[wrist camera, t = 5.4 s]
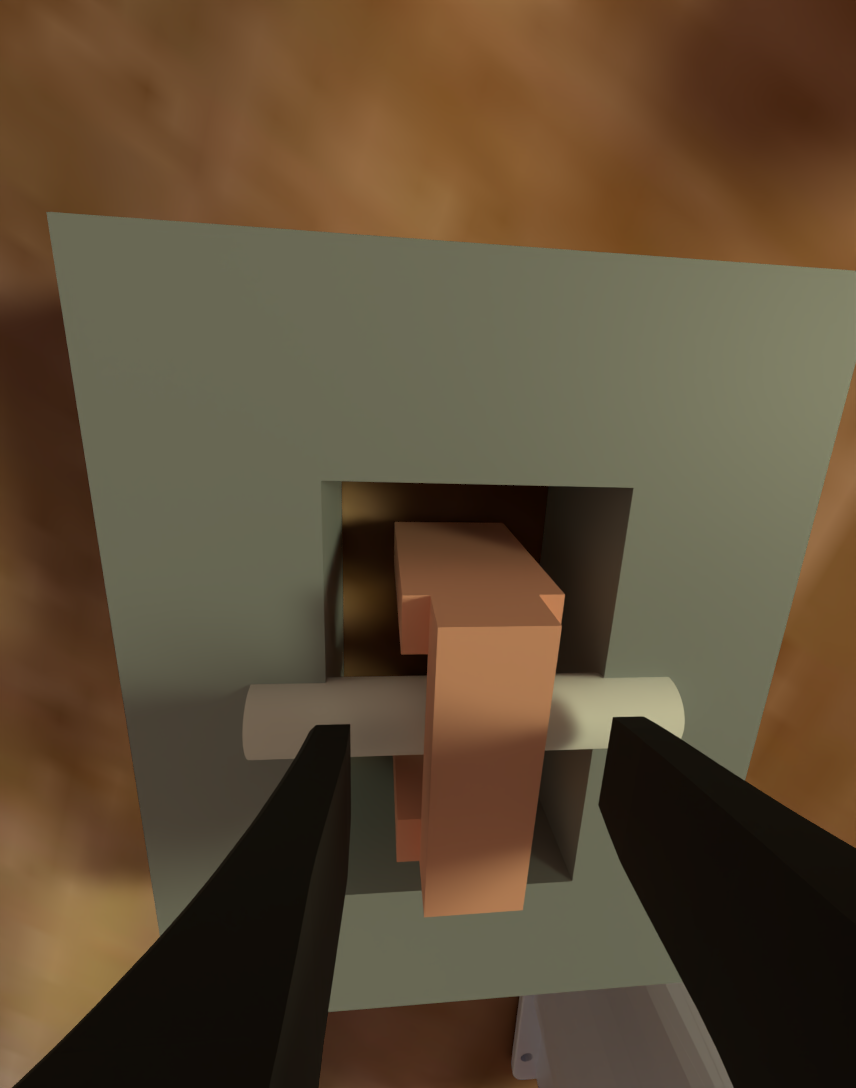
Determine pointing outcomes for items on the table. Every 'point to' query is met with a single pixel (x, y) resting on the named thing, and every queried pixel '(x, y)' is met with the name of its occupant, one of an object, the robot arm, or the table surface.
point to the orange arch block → (474, 710)
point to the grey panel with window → (452, 458)
